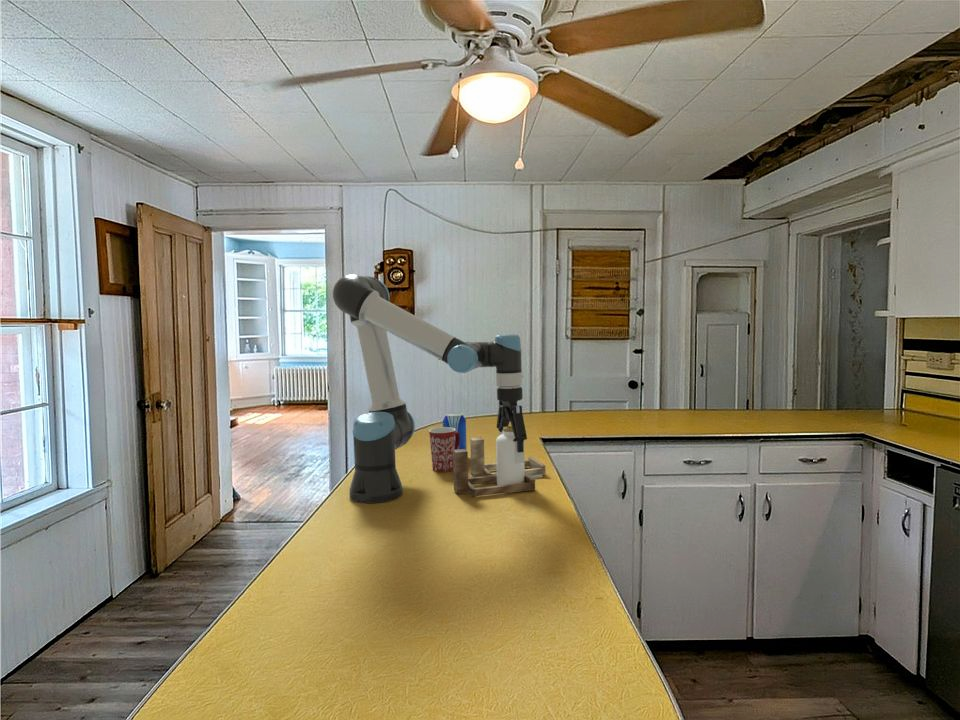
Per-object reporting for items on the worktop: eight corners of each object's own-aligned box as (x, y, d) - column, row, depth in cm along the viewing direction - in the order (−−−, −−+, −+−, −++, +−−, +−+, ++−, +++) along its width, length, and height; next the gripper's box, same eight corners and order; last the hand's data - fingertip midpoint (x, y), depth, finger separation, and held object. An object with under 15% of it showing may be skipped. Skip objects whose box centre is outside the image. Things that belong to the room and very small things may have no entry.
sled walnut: (460, 498, 159) (459, 456, 158) (450, 486, 171) (449, 446, 170) (535, 489, 165) (534, 449, 165) (520, 478, 177) (520, 440, 176)
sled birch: (477, 481, 175) (476, 443, 174) (467, 471, 186) (466, 435, 185) (545, 474, 181) (545, 437, 180) (531, 465, 192) (531, 430, 191)
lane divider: (494, 482, 175) (494, 479, 175) (493, 481, 176) (493, 479, 176) (542, 477, 179) (542, 474, 179) (541, 476, 180) (541, 474, 180)
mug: (443, 474, 185) (442, 433, 184) (424, 469, 191) (423, 430, 190) (469, 466, 195) (468, 427, 194) (450, 462, 201) (449, 424, 200)
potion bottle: (513, 493, 164) (512, 431, 163) (491, 488, 169) (490, 428, 168) (530, 486, 170) (529, 426, 169) (508, 481, 176) (507, 423, 174)
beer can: (466, 460, 203) (465, 416, 202) (442, 460, 203) (441, 416, 202) (467, 454, 211) (466, 412, 210) (444, 454, 211) (443, 412, 210)
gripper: (537, 390, 157) (539, 466, 158) (507, 381, 180) (510, 447, 182) (511, 392, 154) (513, 469, 156) (485, 383, 178) (487, 449, 180)
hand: (511, 457), depth 169 cm, fingers open, 13 cm apart
